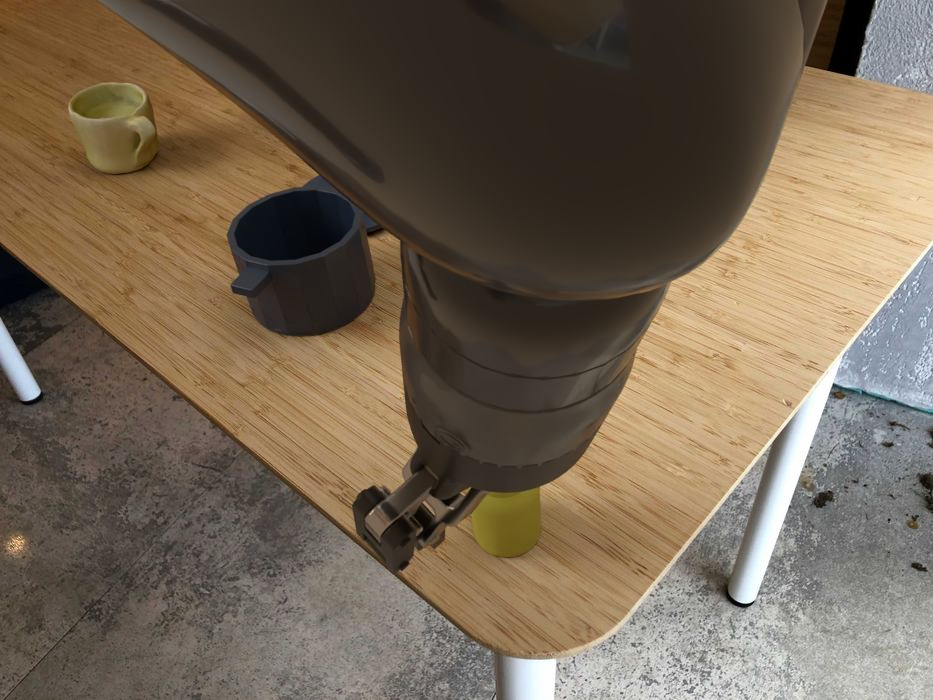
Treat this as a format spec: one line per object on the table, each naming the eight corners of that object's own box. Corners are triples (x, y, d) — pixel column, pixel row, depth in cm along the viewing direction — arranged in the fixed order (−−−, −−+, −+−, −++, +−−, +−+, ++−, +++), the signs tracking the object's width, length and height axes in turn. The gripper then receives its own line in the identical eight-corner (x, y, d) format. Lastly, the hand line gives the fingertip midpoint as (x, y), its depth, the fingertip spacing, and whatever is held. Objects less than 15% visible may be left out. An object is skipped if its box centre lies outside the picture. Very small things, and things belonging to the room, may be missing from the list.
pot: (209, 337, 81) (181, 266, 75) (309, 232, 92) (291, 163, 86) (319, 368, 76) (298, 296, 70) (409, 254, 88) (398, 183, 82)
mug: (57, 148, 107) (55, 74, 100) (137, 140, 113) (140, 70, 107) (97, 202, 101) (98, 127, 95) (179, 190, 107) (185, 120, 101)
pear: (462, 544, 62) (448, 457, 55) (489, 492, 65) (480, 403, 58) (526, 566, 60) (520, 479, 53) (551, 511, 63) (548, 422, 56)
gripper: (577, 167, 32) (531, 338, 47) (276, 414, 28) (332, 514, 43) (731, 301, 30) (632, 434, 45) (431, 587, 26) (433, 628, 41)
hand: (485, 473), depth 44 cm, fingers open, 8 cm apart
